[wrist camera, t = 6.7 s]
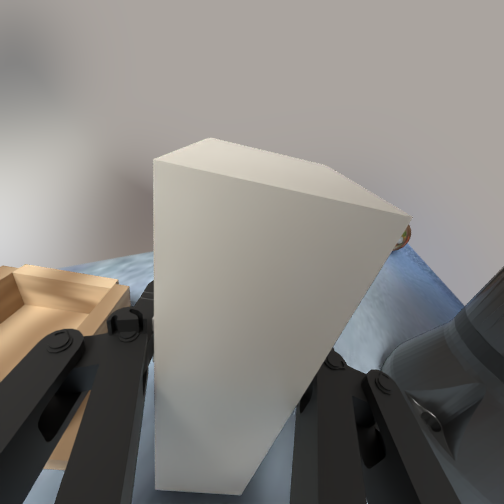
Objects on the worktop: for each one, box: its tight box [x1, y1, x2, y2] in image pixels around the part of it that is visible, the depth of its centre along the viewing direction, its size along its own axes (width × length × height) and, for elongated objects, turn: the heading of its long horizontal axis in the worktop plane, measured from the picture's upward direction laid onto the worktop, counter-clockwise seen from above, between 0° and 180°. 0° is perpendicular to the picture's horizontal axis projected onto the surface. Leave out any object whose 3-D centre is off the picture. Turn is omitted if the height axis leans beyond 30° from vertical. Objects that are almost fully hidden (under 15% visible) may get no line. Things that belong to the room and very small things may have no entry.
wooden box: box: [0, 264, 131, 470], centre depth 16 cm, size 14×11×5 cm
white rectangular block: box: [153, 138, 413, 495], centre depth 11 cm, size 5×6×18 cm
